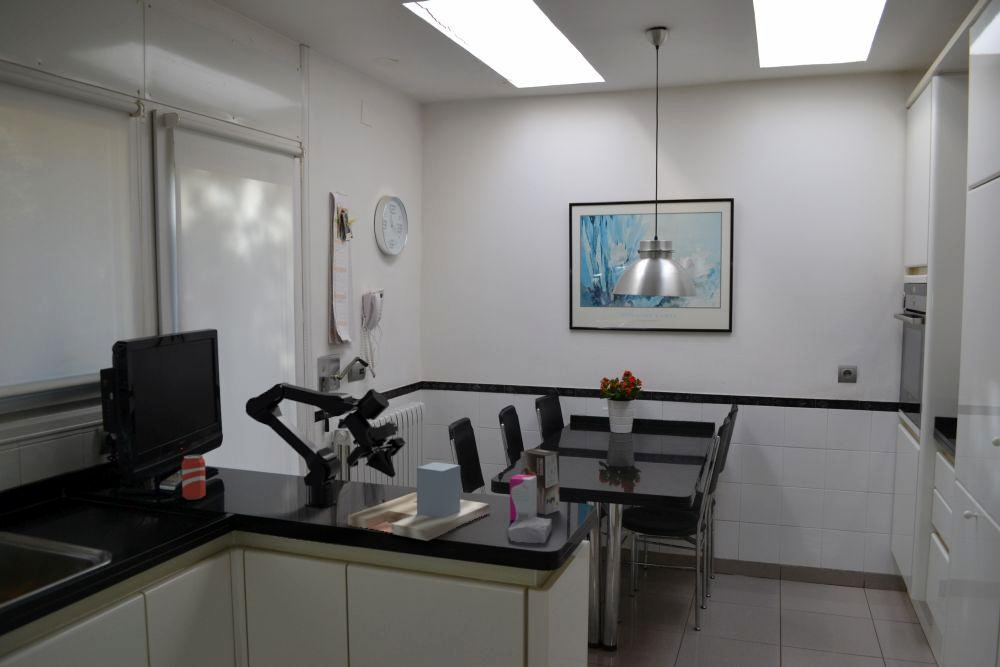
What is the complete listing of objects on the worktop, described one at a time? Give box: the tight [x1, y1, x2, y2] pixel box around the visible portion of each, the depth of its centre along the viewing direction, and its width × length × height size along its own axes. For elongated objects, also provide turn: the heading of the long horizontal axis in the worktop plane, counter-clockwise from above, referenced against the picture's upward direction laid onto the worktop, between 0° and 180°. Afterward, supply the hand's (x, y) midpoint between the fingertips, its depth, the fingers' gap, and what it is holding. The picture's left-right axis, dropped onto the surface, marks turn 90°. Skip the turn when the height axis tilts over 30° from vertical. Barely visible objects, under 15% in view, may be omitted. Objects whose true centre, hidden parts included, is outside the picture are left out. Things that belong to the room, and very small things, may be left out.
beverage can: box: [181, 454, 206, 501], centre depth 231 cm, size 6×6×12 cm
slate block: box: [416, 461, 461, 519], centre depth 206 cm, size 8×8×12 cm
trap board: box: [347, 491, 491, 542], centre depth 209 cm, size 25×28×2 cm
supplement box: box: [509, 474, 538, 523], centre depth 208 cm, size 6×6×12 cm
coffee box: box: [520, 448, 560, 515], centre depth 218 cm, size 9×6×16 cm
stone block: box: [507, 516, 552, 545], centre depth 195 cm, size 12×5×10 cm
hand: (393, 476), depth 213 cm, fingers closed
